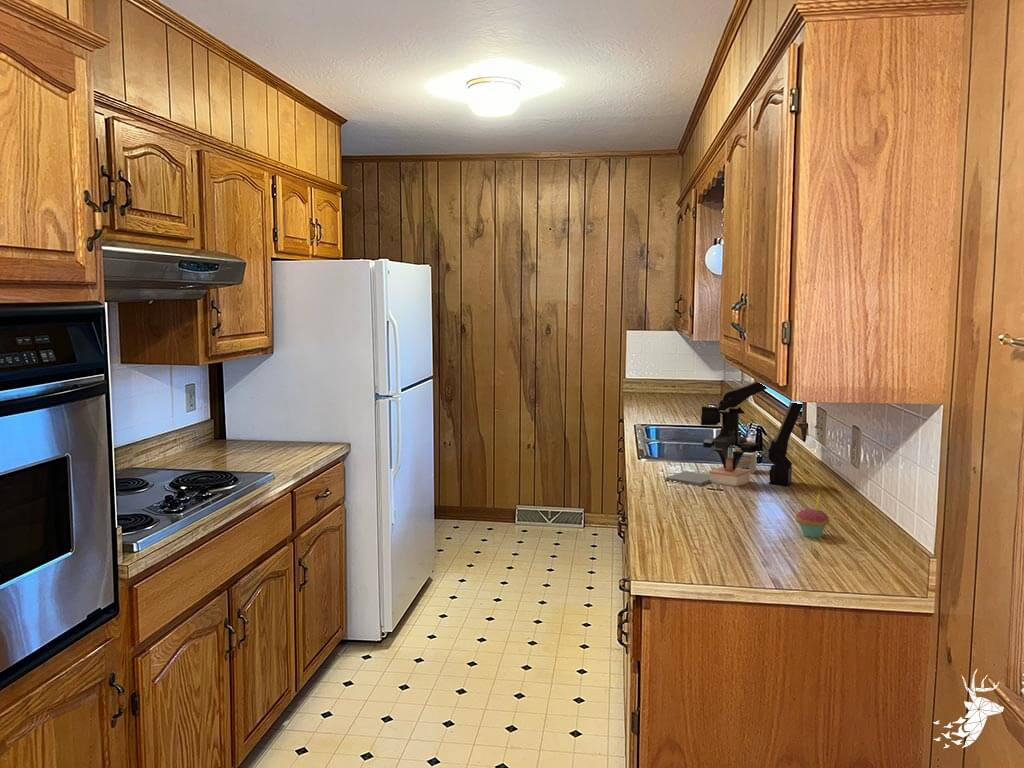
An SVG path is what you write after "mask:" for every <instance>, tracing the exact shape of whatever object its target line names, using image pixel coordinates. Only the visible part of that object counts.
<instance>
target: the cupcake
mask: <svg viewBox="0 0 1024 768" xmlns="http://www.w3.org/2000/svg"><path fill="white" fill-rule="evenodd" d="M820 500H821V492H820V491H819V493H818V494H817V499H816V504H815V508H807V509H804V510H800V511H799V512H797V513H796V515H795V516H796V517H795V522H796V523H798V524H799V526H800V529H801V533H802V535H803V536H805V537H808V536H809V537H808V538H820V537H822V534H823V532H824V530H825V527H826V526H827V525H829V523H830V519H829V515H827V513H826V512H824V511H823V510H820V509H819V506H820V502H821V501H820Z"/></svg>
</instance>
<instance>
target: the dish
mask: <svg viewBox="0 0 1024 768" xmlns="http://www.w3.org/2000/svg"><path fill="white" fill-rule="evenodd" d="M709 475H710V483H709V484H716V485H721V484H722V486H728V485H730V486H729V487H734V486H737V487H740V486H742V485H745V484H746V483H749V482H750V474H749V473H747V474H744V475H742V476H739V477H732V476H725V475H718V474H711V473H709ZM744 483H745V484H744ZM739 485H740V486H739Z"/></svg>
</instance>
